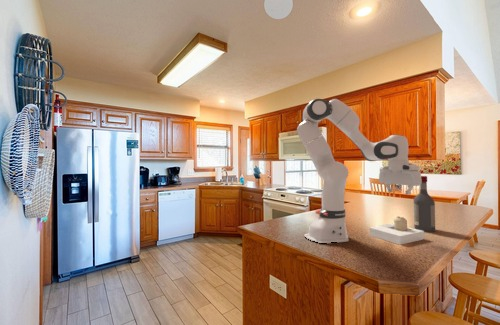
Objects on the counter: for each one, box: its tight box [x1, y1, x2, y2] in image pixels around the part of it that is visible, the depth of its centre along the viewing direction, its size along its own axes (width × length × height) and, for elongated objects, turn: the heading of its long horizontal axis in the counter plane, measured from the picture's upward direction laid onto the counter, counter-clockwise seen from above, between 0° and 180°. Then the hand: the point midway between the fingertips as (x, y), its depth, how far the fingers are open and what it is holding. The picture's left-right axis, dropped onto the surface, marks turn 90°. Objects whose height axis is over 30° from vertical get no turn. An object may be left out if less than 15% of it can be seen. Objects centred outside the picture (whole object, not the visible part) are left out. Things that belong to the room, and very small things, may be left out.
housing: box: [369, 223, 425, 246], centre depth 117 cm, size 18×16×4 cm
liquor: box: [413, 175, 436, 233], centre depth 129 cm, size 9×9×30 cm
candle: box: [393, 215, 408, 232], centre depth 117 cm, size 6×6×10 cm
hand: (398, 193), depth 118 cm, fingers open, 8 cm apart
